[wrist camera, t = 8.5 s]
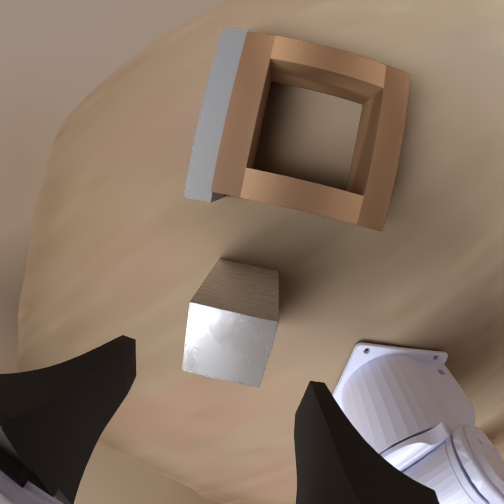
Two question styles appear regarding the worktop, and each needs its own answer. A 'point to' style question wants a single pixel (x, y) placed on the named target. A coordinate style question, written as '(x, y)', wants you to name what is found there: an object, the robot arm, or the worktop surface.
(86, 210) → the worktop surface
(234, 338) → the grey rectangular block
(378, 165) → the square wooden frame
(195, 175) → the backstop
